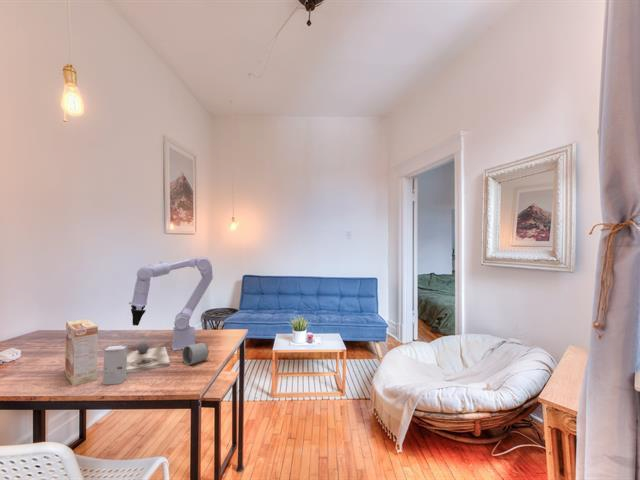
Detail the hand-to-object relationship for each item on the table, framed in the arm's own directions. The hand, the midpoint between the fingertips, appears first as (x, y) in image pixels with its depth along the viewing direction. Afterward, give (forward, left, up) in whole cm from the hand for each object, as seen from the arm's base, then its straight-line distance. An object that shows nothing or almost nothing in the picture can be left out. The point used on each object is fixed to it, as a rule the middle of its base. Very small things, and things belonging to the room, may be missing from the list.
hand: (135, 323), depth 136 cm
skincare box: (+6, +31, -13) cm, 34 cm away
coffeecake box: (+17, +20, -13) cm, 29 cm away
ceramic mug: (-21, +25, -13) cm, 35 cm away
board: (-3, +14, -13) cm, 19 cm away
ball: (-3, +8, -10) cm, 13 cm away
